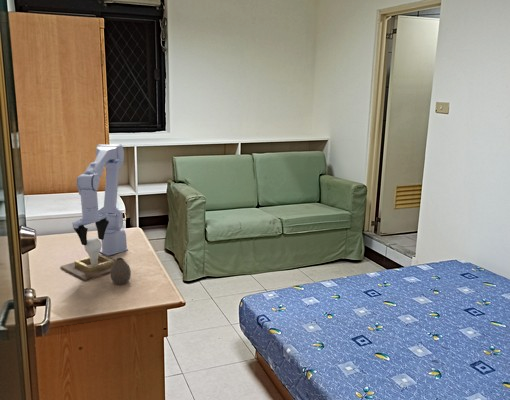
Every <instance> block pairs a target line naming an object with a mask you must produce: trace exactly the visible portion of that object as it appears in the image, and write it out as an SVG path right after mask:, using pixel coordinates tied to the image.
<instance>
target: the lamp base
mask: <svg viewBox="0 0 510 400" xmlns="http://www.w3.org/2000/svg"><path fill="white" fill-rule="evenodd" d="M101 255H103V256H105V257H108V258H110V259H112V260H114V262H115V261H116V259H117V258H116V259H115V258H114V257H111V256H110V255H109V256H108V255H105V254H103V253H101ZM100 263H103V262H101V261H99V260H98V264H100ZM86 265H88V266H93V265H91V263H88V264H86ZM59 267H60V269H61V270H63V271H65V272H67V273H69V274H70V275H72V276H75V277H76V278H79V279H80V280H83V281H84V282H87V281H90V280H91V281H92V280H95V279H97V278H100V277H103V276H106V275H110V270H111V267H112V266H111V267H108V268H105V269H101V270H98V271H95V272H92V273H88V272H86V271H84V270H82V269H80V268H78V267H76V266H75V261H73V262H71V263H67V264H64V265H60V266H59Z"/></svg>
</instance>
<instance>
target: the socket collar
mask: <svg viewBox="0 0 510 400" xmlns="http://www.w3.org/2000/svg"><path fill="white" fill-rule="evenodd" d="M101 254H102V253H101ZM101 254H100V253H99V255H98V260H99V261H101V262H103V263H100V264H96V265H93V266H88V265H86V264H88V263H91V262H90V258H89V256H88V257H87V256H86V257H84V258H80V259H76V260H74V262H75V266H76V267H78V268H80V269H82V270H84V271H86V272H88V273H92V272H95V271H98V270H101V269H105V268H108V267H111V266H112V265H113V264H114V260H112V259H110V258H108V257H105V256H103V255H101Z"/></svg>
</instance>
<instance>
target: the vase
mask: <svg viewBox="0 0 510 400" xmlns="http://www.w3.org/2000/svg"><path fill="white" fill-rule="evenodd" d="M109 277H110V279H111V281H112V282H113V283H114V284H115V285H118V286H119V285H125V284H127V283H128V282H129V280H130V278H131V267H130V264H128V263H127V262H126V261H125V260H124V258H123V257H117V258H116V261H115V262H114V264H113V265H112V267H111V270H110V273H109Z"/></svg>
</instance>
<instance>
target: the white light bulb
mask: <svg viewBox="0 0 510 400" xmlns="http://www.w3.org/2000/svg"><path fill="white" fill-rule="evenodd" d="M83 247H84V251H85V252H86V253H87V254H88V257H89V258H90V262H91V265H96V264H98V255H99V254H100V253H101V252H100V250H101V249H102V241H101V239H99V238H98V237H89V238H87V245H83Z"/></svg>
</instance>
